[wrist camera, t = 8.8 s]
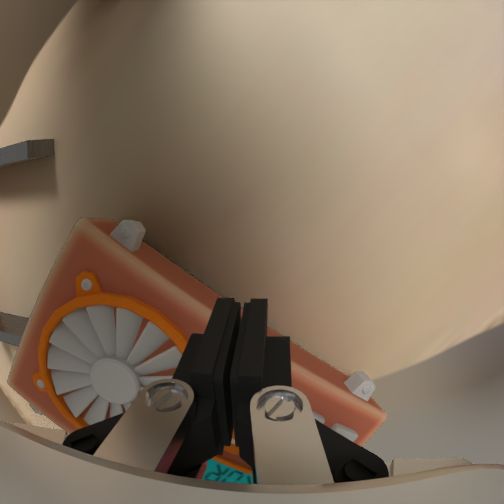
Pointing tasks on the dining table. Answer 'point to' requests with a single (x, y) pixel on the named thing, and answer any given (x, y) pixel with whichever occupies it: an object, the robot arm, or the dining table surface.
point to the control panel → (146, 341)
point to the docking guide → (6, 324)
